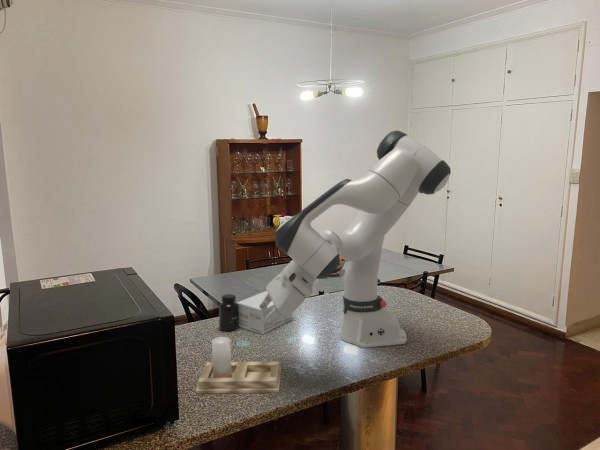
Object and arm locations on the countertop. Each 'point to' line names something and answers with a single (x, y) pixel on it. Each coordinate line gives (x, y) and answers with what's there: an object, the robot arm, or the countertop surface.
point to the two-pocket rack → (242, 378)
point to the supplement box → (258, 315)
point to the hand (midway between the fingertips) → (263, 314)
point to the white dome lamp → (221, 357)
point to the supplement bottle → (228, 313)
